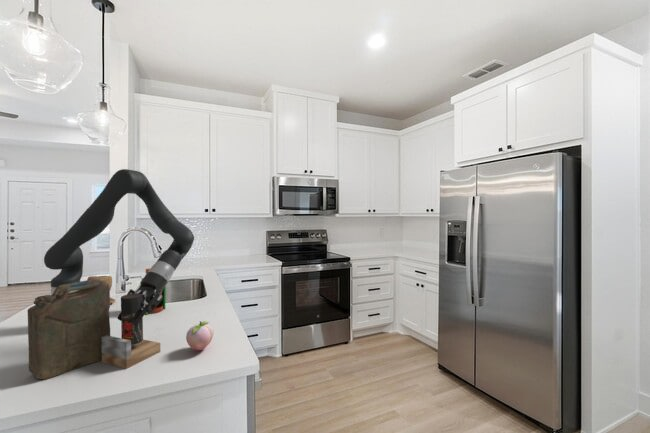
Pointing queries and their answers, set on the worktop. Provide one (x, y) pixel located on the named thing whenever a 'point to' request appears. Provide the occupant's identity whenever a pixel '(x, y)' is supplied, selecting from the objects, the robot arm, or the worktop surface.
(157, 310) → the motor
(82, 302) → the canister
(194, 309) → the worktop surface
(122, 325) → the deodorant
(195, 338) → the decorative fruit
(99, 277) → the stone cup
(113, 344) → the step
